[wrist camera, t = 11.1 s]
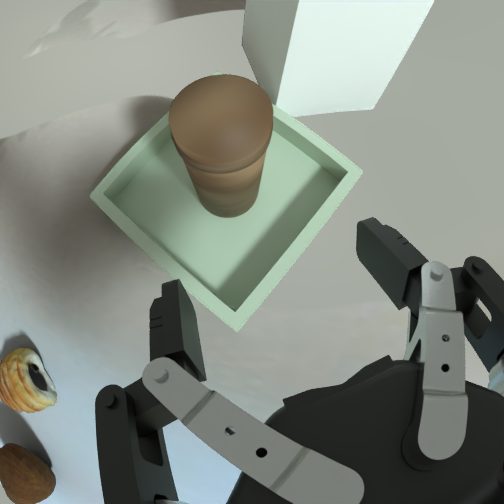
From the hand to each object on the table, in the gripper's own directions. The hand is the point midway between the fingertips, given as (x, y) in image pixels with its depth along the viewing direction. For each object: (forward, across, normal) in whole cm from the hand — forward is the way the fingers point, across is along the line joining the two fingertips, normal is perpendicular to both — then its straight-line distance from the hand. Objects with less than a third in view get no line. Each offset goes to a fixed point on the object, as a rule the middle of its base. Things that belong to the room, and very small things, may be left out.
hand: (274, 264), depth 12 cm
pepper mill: (+13, 0, +2) cm, 13 cm away
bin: (+13, 0, +2) cm, 14 cm away
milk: (+22, -12, -6) cm, 25 cm away
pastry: (+5, +27, +11) cm, 29 cm away
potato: (-3, +32, +18) cm, 37 cm away
